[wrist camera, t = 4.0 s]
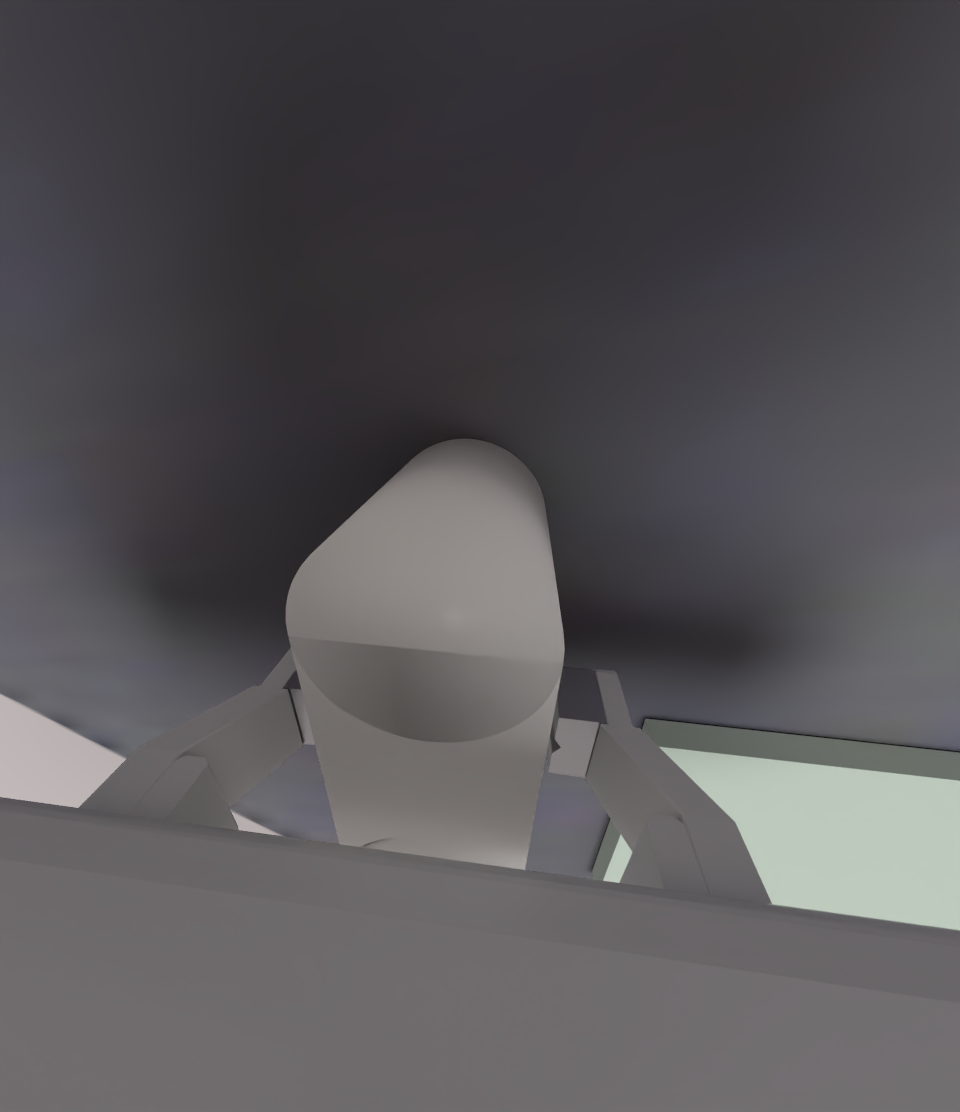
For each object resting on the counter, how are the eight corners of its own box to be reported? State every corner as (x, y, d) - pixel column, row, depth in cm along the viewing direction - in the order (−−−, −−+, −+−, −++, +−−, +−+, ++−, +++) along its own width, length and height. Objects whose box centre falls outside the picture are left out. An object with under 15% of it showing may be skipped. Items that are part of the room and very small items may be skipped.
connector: (385, 433, 9) (257, 508, 5) (555, 444, 9) (587, 533, 4) (411, 788, 16) (367, 958, 11) (509, 800, 15) (504, 979, 11)
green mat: (645, 718, 12) (654, 746, 12) (1125, 770, 12) (1174, 804, 11) (591, 872, 17) (595, 900, 16) (929, 918, 16) (952, 950, 15)
